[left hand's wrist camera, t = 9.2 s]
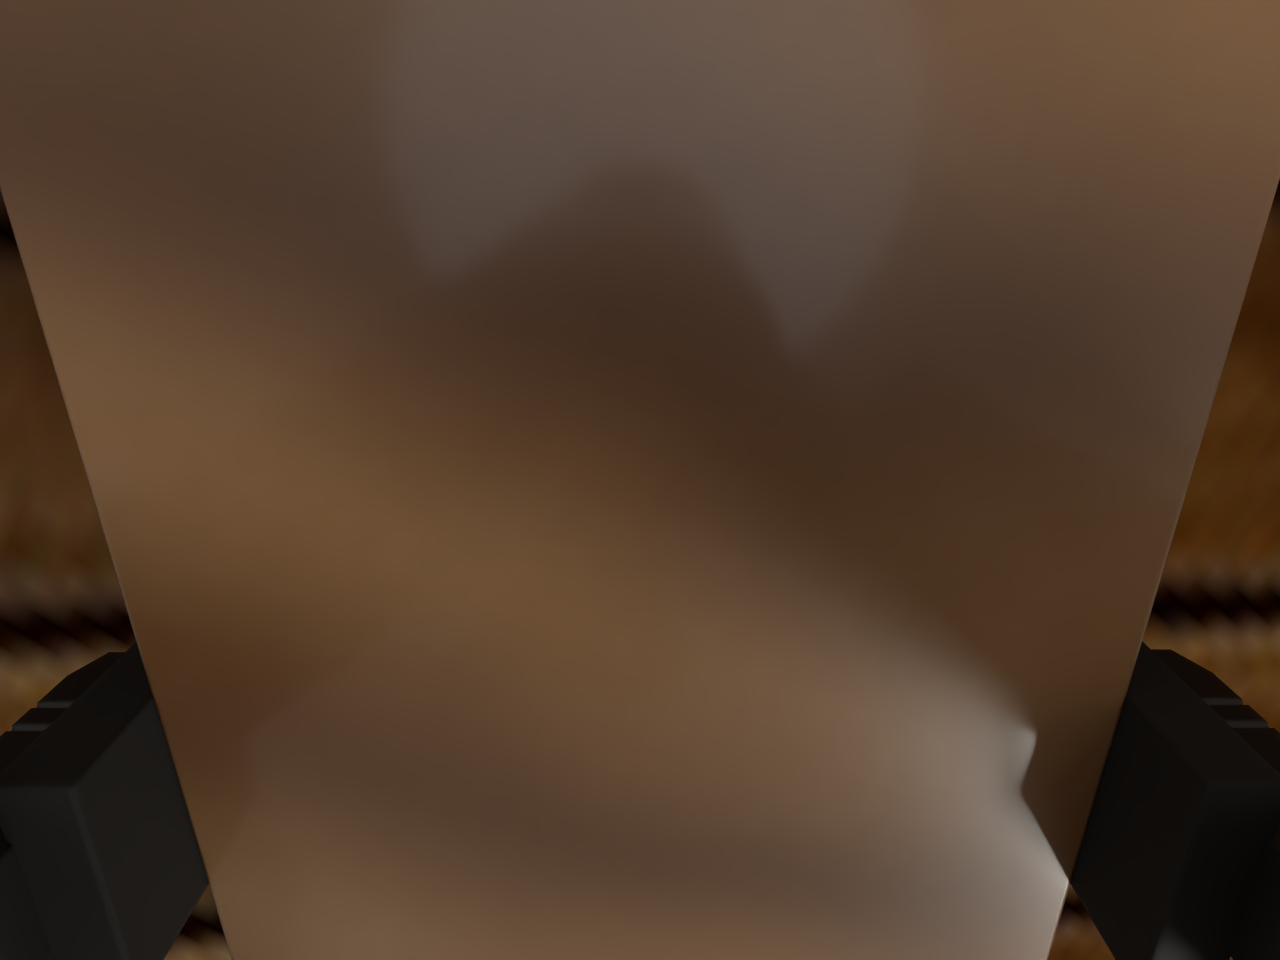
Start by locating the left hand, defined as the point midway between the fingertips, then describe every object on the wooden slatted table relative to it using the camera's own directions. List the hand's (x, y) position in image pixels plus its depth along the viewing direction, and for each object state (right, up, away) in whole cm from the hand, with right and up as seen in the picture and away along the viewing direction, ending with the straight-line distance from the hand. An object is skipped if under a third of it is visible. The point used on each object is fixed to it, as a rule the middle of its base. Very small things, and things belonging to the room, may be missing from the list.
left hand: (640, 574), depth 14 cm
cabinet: (0, +7, 0) cm, 7 cm away
